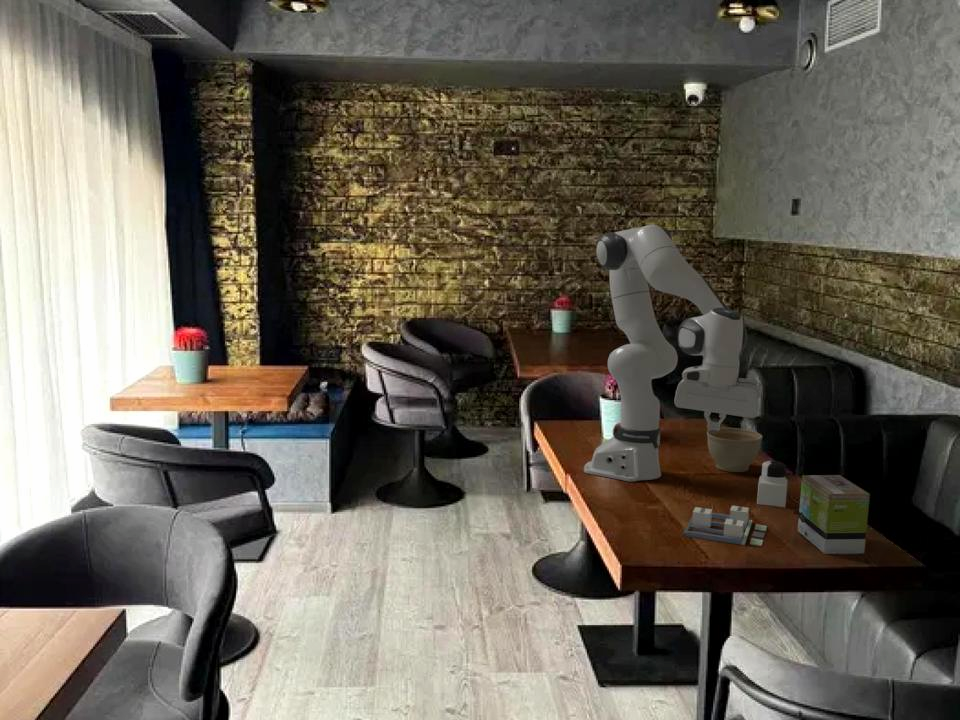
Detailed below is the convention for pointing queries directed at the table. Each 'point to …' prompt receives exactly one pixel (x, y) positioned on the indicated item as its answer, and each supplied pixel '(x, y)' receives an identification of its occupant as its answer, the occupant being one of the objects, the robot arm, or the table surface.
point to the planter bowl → (733, 448)
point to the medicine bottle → (772, 484)
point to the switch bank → (723, 538)
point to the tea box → (833, 514)
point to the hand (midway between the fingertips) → (713, 429)
